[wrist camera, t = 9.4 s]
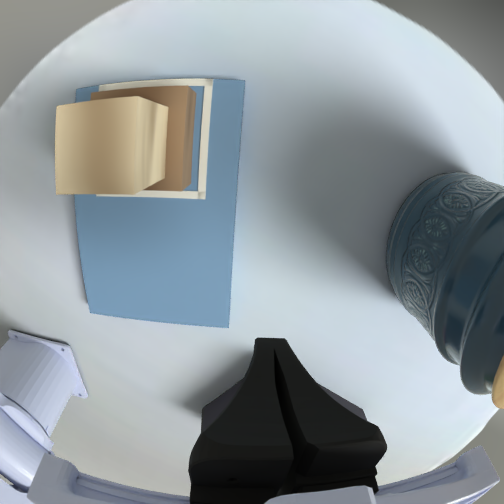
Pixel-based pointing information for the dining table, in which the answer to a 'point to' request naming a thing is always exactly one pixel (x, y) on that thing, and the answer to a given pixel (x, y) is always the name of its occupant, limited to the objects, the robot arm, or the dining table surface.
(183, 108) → the walnut base
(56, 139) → the maple block
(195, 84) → the board
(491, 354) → the canister
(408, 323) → the dining table surface
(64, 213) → the dining table surface
